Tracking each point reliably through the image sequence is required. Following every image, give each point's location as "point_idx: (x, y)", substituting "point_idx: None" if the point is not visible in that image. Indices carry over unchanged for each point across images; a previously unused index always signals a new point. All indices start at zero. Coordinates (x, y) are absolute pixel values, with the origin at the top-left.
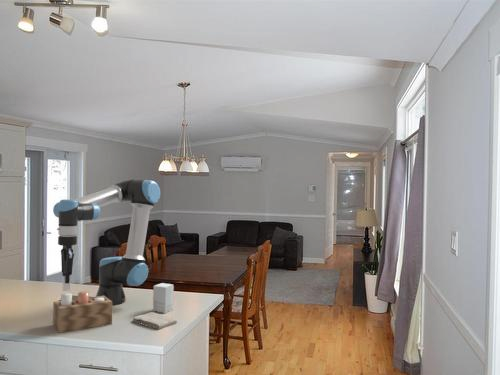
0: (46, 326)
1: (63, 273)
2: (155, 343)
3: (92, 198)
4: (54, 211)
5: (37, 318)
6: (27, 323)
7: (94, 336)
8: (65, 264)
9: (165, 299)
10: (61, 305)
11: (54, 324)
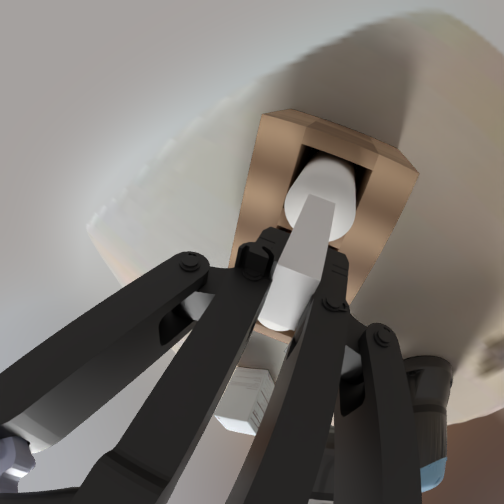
0: (398, 121)
1: (313, 300)
2: (95, 232)
3: None
4: None
5: (498, 170)
6: (478, 108)
7: (183, 170)
8: (158, 385)
9: (225, 391)
10: (327, 160)
11: (373, 139)
